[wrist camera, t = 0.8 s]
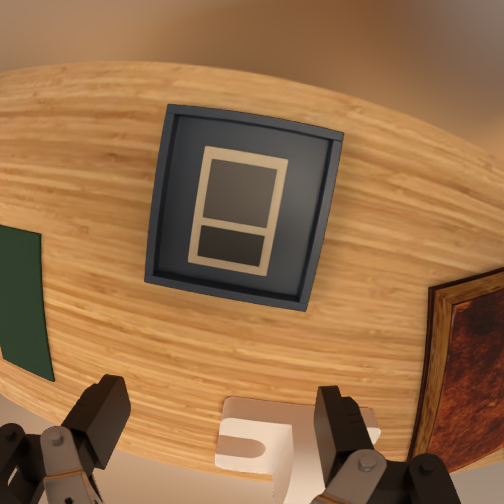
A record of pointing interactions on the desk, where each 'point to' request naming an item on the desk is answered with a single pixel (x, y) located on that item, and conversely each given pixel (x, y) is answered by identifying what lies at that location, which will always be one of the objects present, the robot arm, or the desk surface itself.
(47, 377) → the mat
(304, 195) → the tray
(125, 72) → the desk surface
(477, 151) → the desk surface
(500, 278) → the book
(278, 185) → the beige rectangular block
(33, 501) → the robot arm
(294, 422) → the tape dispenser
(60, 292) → the desk surface
